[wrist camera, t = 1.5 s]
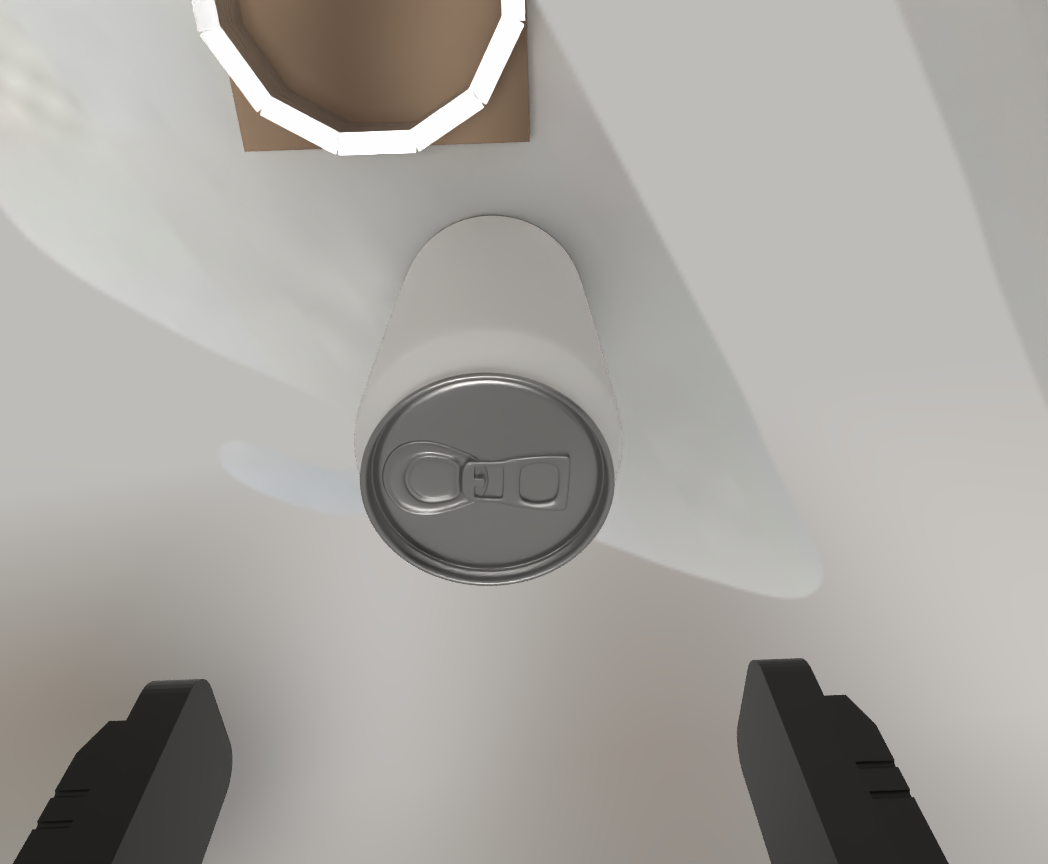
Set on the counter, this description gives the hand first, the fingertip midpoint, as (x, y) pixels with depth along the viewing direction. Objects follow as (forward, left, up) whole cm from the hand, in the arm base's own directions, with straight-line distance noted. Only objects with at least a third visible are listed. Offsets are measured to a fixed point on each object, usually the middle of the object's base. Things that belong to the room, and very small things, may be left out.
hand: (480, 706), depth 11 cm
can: (0, 0, -18) cm, 18 cm away
